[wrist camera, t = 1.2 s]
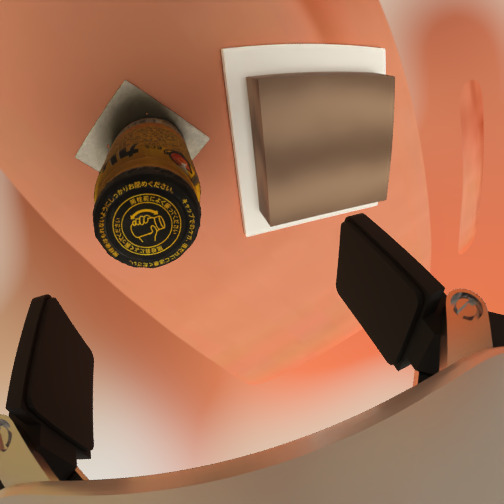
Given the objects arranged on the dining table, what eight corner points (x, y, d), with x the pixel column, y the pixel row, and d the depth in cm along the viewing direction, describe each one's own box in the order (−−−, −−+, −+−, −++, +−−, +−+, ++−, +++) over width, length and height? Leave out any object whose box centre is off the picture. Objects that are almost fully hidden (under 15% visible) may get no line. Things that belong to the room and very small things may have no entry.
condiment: (157, 205, 26) (166, 301, 16) (75, 156, 21) (25, 233, 12) (209, 137, 24) (253, 198, 14) (125, 79, 19) (97, 93, 10)
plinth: (245, 76, 21) (258, 79, 18) (373, 72, 23) (394, 76, 21) (259, 210, 28) (270, 227, 26) (368, 187, 30) (386, 199, 28)
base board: (220, 49, 20) (222, 48, 19) (379, 48, 22) (385, 48, 22) (244, 232, 30) (246, 237, 29) (373, 202, 32) (377, 205, 32)
